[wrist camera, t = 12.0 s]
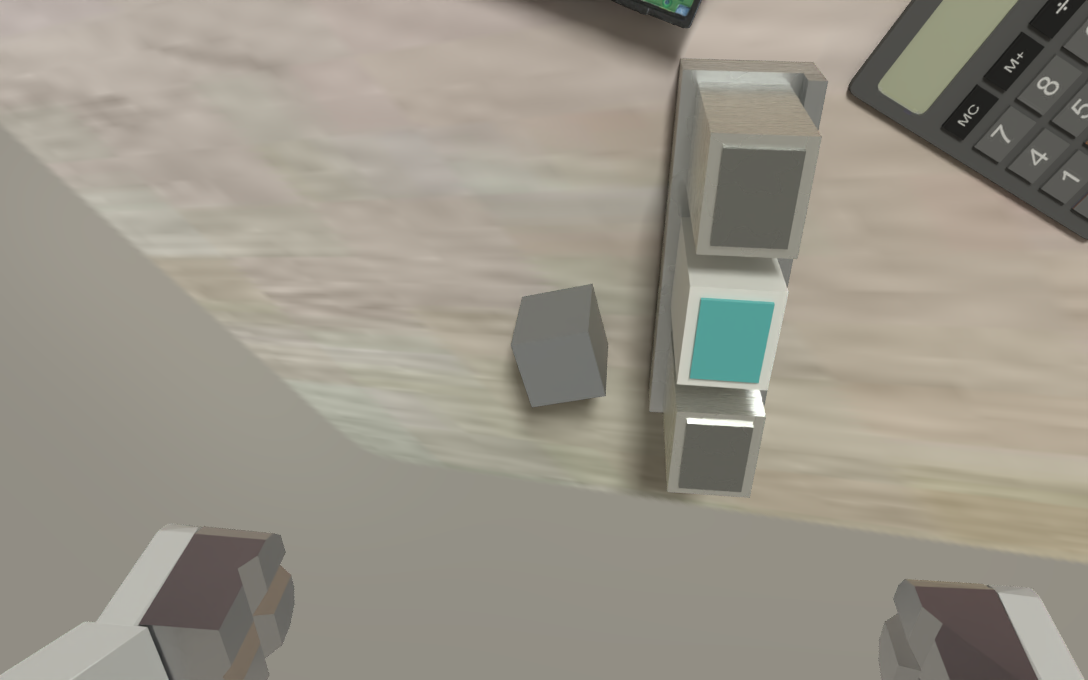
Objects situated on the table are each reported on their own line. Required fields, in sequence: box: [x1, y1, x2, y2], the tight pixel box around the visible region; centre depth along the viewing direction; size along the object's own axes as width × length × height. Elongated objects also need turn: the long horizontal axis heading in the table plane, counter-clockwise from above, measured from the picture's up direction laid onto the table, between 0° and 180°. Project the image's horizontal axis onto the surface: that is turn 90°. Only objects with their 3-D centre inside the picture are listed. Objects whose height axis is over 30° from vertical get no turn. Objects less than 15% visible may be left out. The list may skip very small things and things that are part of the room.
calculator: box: [849, 0, 1088, 239], centre depth 35 cm, size 12×1×15 cm
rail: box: [649, 59, 828, 498], centre depth 38 cm, size 6×19×9 cm, turn 0°
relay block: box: [511, 284, 608, 407], centre depth 43 cm, size 4×4×5 cm
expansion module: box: [670, 217, 789, 391], centre depth 37 cm, size 4×5×7 cm
